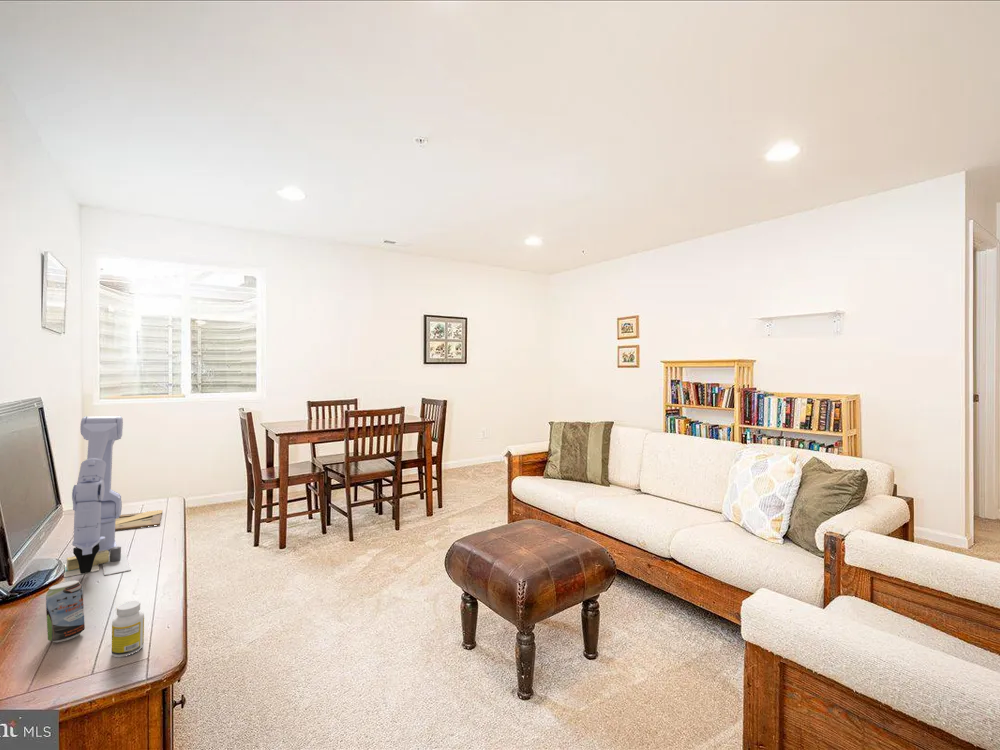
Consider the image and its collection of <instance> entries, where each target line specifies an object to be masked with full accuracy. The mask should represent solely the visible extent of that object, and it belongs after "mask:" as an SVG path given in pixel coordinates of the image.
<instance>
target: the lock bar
mask: <svg viewBox="0 0 1000 750" xmlns="http://www.w3.org/2000/svg"><path fill="white" fill-rule="evenodd" d="M109 556H110V550H104V551H99V552H97V554H96V556H95V558H94V562H93V565H97V564H98V565H102V563H106V562H109ZM66 564H67V565H66V568H67V570H68V571H69V570H74V569H78V568H79V564H78V560H77V558H76V556H75V555H74V556H70V557H66Z"/></svg>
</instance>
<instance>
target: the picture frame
mask: <svg viewBox="0 0 1000 750" xmlns="http://www.w3.org/2000/svg"><path fill="white" fill-rule="evenodd" d="M161 516H163V509H160V510H159V509H158V510H148V511H145V512H135V513H126V514H125V513H124V514H121V516H120V517H119V518H118V519H116V520H115V532H118V531H119V532H120V531H125V530H126V531H128V530H135V529H137V530H138V529H142V528H141V527H146V528H149V527H148V526H154V525H160V526H161V522H162V517H161ZM160 521H161V522H160Z"/></svg>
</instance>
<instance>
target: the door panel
mask: <svg viewBox="0 0 1000 750" xmlns="http://www.w3.org/2000/svg"><path fill="white" fill-rule="evenodd" d="M121 552H122V546H117V547H112V548H110V550H109V562H106V563H101V565H102V570H103V576H104V577H106V576H110V575H115V574H121V573H126V572H131V570H132V569H131V566H130V561H129V558H128V555H127V552H125V553H121ZM64 565H65V573H64V572H63V578H69V577H73V576H74V577H75V576H79V575H82V574H81V573H80V569H79V568H78V569H74V570H69V571H68V570H67V568H66V565H67V563H64ZM99 571H100V567H99V564H97V565H93V566H92V569H91V572H89V573H88V574H90V573H94V572H99ZM84 574H86V573H84ZM84 574H83V575H84Z"/></svg>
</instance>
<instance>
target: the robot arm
mask: <svg viewBox="0 0 1000 750" xmlns="http://www.w3.org/2000/svg"><path fill="white" fill-rule="evenodd" d="M123 427H124V419H123V417H122V416H121V415H117V416H115V415H114V416H111V415H110V416H109V415H108V416H106V415H105V416H87V415H86V416H83V417H82V418H81V421H80V427H79V428H80V435H81V436H82V437H83V439H84V440H86V441H87V445H88V446H87V454H86V455H87V456H86V459H85V460H84V461H82V462H81V463H80V468H79V472H78V478H77V482H76V483H77V484H74V485H73V488H72V492H71V500H72V510H73V511H74V515H73V517H74V518H73V541H72V542H71V543H72V544H71V545H72V546H73V547H74V548H72V553H73V555H74V556H76V558H77V560H78V564H79V569H80V573H81V574H80V575H84V573H85V574H90V573H92V572H91V569H92V566H93V562H94V558H95V556H96V554H97V552H99V551H104V550H108V551H110V548H112V547H118V546H117V542H116V539H115V538H116V531H115V520H116V519H118V518H119V517H120V516H121V515H122V507H123V506H122V505H123V504H122V495H121V493H118V492H116V491H115V490H113V489H112V473H113V472H112V468H113V449H114V447H113V446H114V443H115V442H116V441H119V440H121V439H122V437H123V429H124V428H123ZM89 572H90V573H89Z"/></svg>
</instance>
